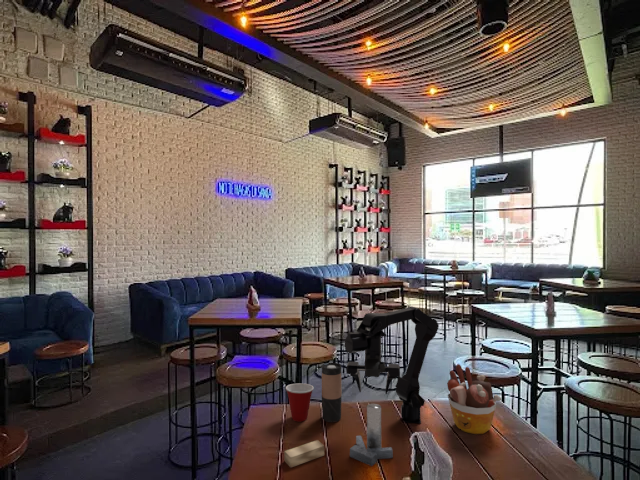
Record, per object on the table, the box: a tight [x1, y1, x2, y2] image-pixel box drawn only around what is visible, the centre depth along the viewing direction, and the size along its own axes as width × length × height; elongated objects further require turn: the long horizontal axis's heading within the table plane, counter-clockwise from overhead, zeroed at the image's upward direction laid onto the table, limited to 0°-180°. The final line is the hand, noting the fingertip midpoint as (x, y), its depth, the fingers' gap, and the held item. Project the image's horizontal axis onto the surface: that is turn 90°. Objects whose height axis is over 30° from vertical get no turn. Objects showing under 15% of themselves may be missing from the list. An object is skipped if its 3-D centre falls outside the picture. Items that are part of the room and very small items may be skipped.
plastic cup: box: [285, 383, 314, 422], centre depth 143 cm, size 11×11×12 cm
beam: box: [283, 439, 325, 468], centre depth 116 cm, size 12×4×3 cm, turn 123°
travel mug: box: [321, 362, 342, 423], centre depth 143 cm, size 8×8×20 cm
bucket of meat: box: [446, 363, 502, 435], centre depth 136 cm, size 20×16×20 cm
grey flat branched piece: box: [349, 435, 394, 467], centre depth 118 cm, size 9×14×2 cm, turn 51°
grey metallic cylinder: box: [366, 403, 382, 449], centre depth 121 cm, size 5×5×14 cm
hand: (373, 392), depth 134 cm, fingers open, 9 cm apart
